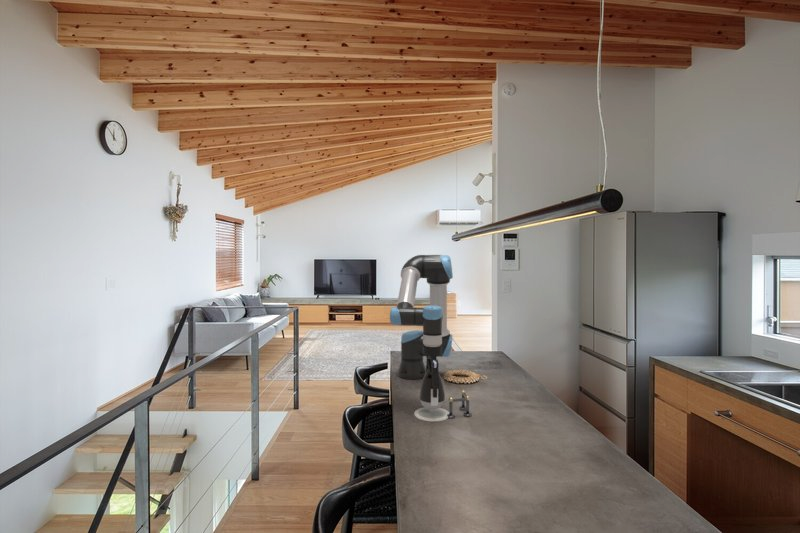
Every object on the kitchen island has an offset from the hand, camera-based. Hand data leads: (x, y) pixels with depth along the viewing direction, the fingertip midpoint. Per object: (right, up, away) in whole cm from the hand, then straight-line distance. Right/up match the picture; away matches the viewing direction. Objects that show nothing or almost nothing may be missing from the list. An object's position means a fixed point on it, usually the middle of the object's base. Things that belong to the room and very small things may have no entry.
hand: (432, 400), depth 169 cm
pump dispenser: (0, -3, 0) cm, 3 cm away
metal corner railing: (+10, -6, +2) cm, 12 cm away
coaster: (0, -6, 0) cm, 6 cm away
